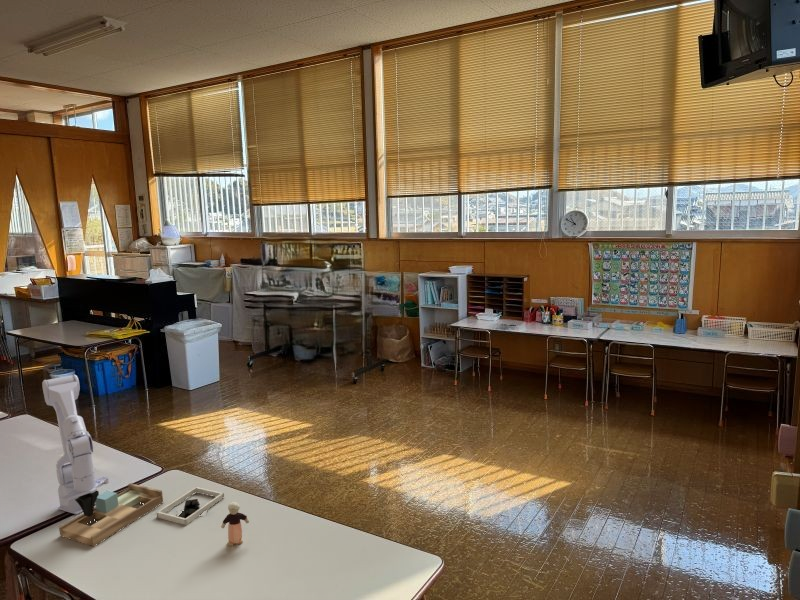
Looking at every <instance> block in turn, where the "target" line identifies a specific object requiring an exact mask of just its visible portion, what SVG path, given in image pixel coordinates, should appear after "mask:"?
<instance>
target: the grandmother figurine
mask: <svg viewBox="0 0 800 600" xmlns="http://www.w3.org/2000/svg"><path fill="white" fill-rule="evenodd" d="M240 508H241V506H240V504H239V503H238V502H236V501H232V502H230V503H229V504H228V506H227V510H228V511H229V513H228V514H227V515H226V516H225V518H224V519H223V520H222V524H221V526H220V527H221V529H225V528H226V525H227V524H228V527H227V531H228V532H227V535H228V536H227V537H228V538H227V539H228V541H227V543H226V547H231V546H233V545H241V544H243V543H244V541H243V529H242V528H243V527H242V521H244V522H245V524H249V523H250V520H249V519H248V515H247V514H244V513H242V512H239V510H240ZM241 520H242V521H241Z"/></svg>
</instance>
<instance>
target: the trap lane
mask: <svg viewBox="0 0 800 600" xmlns="http://www.w3.org/2000/svg"><path fill="white" fill-rule="evenodd" d="M127 486H128V488H126V489H124V490H123V491H121V492H120V493H117V497H118V505H119V506H118V507H116V508H114V509H113V510H111V511H109V512H108V513H104V512H100V511H96V506H94V510H93V515H91V516H90V517H88V516H85V515H84V513H82V514H81V515H80V514H79V516H77V517H75V518H73V519H71V520H70V521H67V522H65V523H64V524H62V525H61V526H59V527H58V530H59V535H61V536H64V537H67V538H70V539H73V540H72V541H74V540H75V541H74V542H77V541H78V543H80V542H82V543H81V544H83V543H85V544H84V545H86V544H88V545H87V546H90V545H92V546H91V547H93V546H94V547H96V546H97V545H96V544H98V543H99V544H101V543H102V542H104V541H105V540H107V539H108V537H109V536H110V537H112V536H113V535H115V534H116V533H115V532H117V531H118V532H120V531H121V530H123V529H124V528H126V527H127V525H128V524H129V525H130V523H131V524H132V523H134V522H135V520H136V519H137V520H139V519H140V518H141V516H142V517H144V516H145V515H147V514H148V513H150V512H151V511H153V510H154V509H156V508H157V507H156V506H158V505H159V504H161V503H162V502H163V503H164V498H163V491H162V490H159V489H156V488H153V487H148V486H144V485H140V484H135V483H132V482H130V483H129V484H128V485H127ZM140 502H141V504H140ZM142 503H144V505H143V504H142ZM163 503H162V504H163ZM162 504H161V505H162ZM159 506H160V505H159ZM159 506H158V507H159ZM155 507H156V508H155ZM153 508H154V509H153ZM152 509H153V510H152ZM150 510H151V511H150ZM149 511H150V512H149ZM147 512H148V513H147ZM146 513H147V514H146ZM144 514H145V515H144ZM139 517H140V518H139ZM138 518H139V519H138ZM94 519H95V521H94ZM137 520H136V521H137ZM90 521H91V523H90ZM96 521H97V522H96ZM133 521H134V522H133ZM87 523H88V524H87ZM129 525H128V526H129ZM125 526H126V527H125ZM123 527H124V528H123ZM122 528H123V529H122ZM120 529H121V530H120ZM119 530H120V531H119ZM118 532H117V533H118ZM114 533H115V534H114ZM112 534H113V535H112ZM111 535H112V536H111ZM61 536H60V537H61ZM64 537H63V538H64ZM110 537H109V538H110ZM67 538H66V539H67ZM106 538H107V539H106ZM70 539H69V540H70ZM104 539H105V540H104ZM103 540H104V541H103ZM101 541H102V542H101ZM100 542H101V543H100ZM99 544H98V545H99ZM95 545H96V546H95Z"/></svg>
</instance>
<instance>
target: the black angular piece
mask: <svg viewBox="0 0 800 600" xmlns="http://www.w3.org/2000/svg"><path fill="white" fill-rule="evenodd" d="M200 505H201V504H200V501H199V499H198V498H194V499H186V500H185V503H184V506H183V510H184V511H182V510H181V511H182V513H181V514H180V515H179V516H178V517H182V518H187V517H188V516H190V515H191V514H193V513H194V512H196V511H197V510H198V509H199V508H200ZM200 515H201V514H200Z"/></svg>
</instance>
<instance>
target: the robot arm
mask: <svg viewBox="0 0 800 600" xmlns="http://www.w3.org/2000/svg"><path fill="white" fill-rule="evenodd" d="M41 384H42V385H41V386H42V391H43V392H42V393H43V397H44V402H45V403H46V405H47V406H51V407H53V409H54V410H55V413H56V417H57V418H56V419H57V423H58V424H57V425H58V430H59V435H60V440H61V445H62V451H63V455H62V456H61V457H60V458H58V460H57V461H56V463H55V468H56V476H57V482H58V484H59V485H58V489H57V492H58V493H57V494H58V500H59V506H58V507H57V510H60V511H63V512H67V513H71V514H74V515H80V514H81V513H82V512H83V514H84V515H85V516H88V517H90V516H91V515H93V510H94V507H95V506H96V503H95V502H96V499H97V497H98V495H100V492H99V490H98V488H100V487H102V486H104V485H108V484H109V477H107V476H101V477H99V478H97V479H96V478H95V469H94V463H93V462H94V461H93V453H94V443H93V439H92V435H91V434H90V433H89V431H87V428H86V424H85V421H84V418H83V417H82V416H81V415H78V411H77V406H76V400H78V398H79V395H80V391H81V390H80V389H81V388H80V387H81V386H80V380H79V376H78V375H76V374H75V373H74V374H71V375H65V376H61V377H55V378H51V379H44V380H43V381H42V383H41Z"/></svg>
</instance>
